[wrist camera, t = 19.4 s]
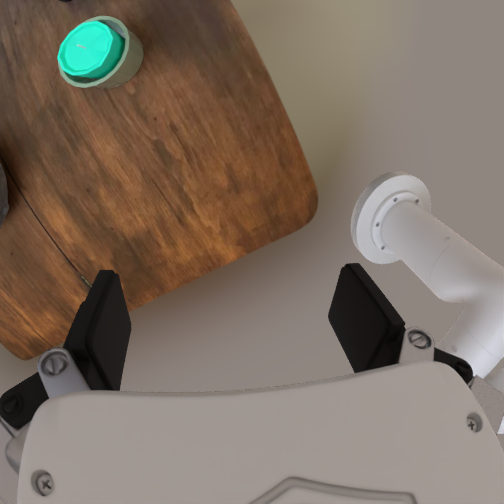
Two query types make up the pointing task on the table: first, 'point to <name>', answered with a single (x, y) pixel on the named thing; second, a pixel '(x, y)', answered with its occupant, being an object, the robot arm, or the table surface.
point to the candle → (91, 50)
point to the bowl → (3, 196)
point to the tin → (125, 66)
